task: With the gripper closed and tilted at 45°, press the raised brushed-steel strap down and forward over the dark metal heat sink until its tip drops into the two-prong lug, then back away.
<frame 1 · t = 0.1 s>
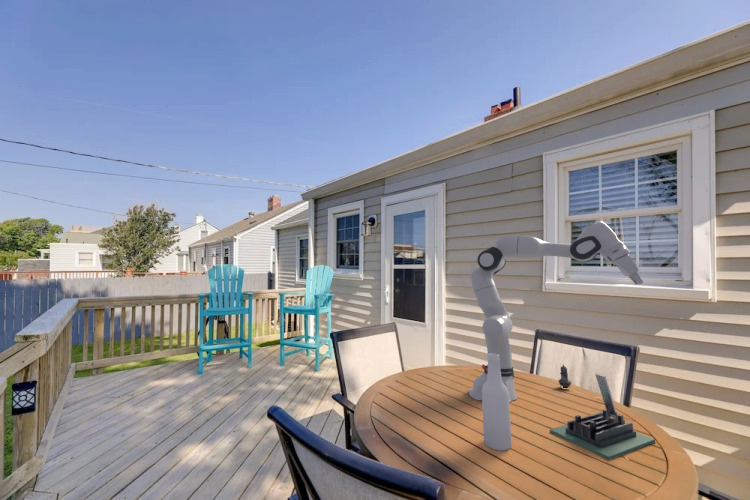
hand: (639, 283, 126), 54 cm above the table, tool tilted 30°, fingers open, 8 cm apart
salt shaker: (565, 388, 161), on the table
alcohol: (497, 445, 106), on the table
circuit board: (600, 437, 110), on the table
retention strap: (606, 396, 114), point 13 cm above the table, hinge at 70.0°
heat sink: (599, 424, 111), on the circuit board, point 4 cm above the table
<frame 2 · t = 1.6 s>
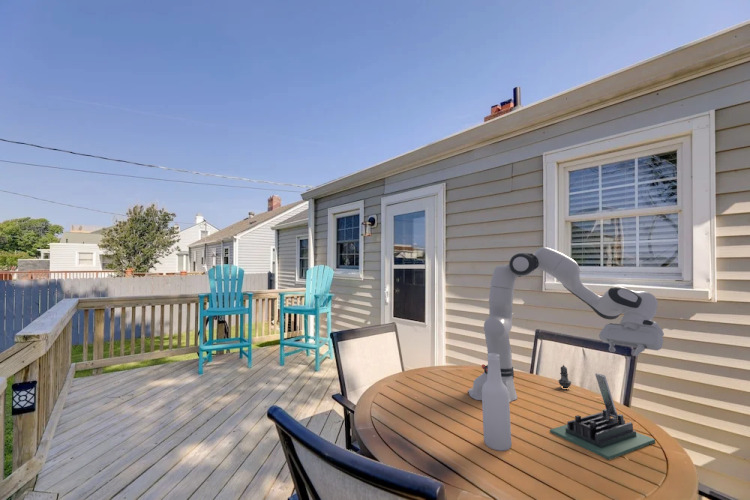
hand: (622, 353, 120), 27 cm above the table, tool tilted 45°, fingers open, 6 cm apart
nothing on the table moved.
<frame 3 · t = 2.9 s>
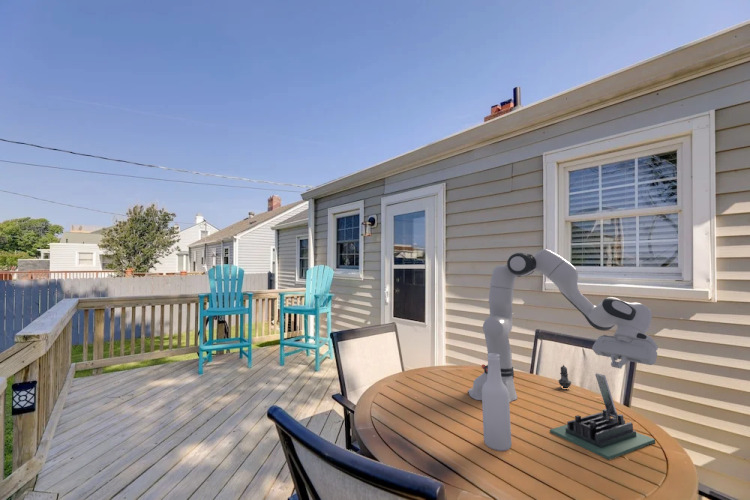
hand: (615, 366, 118), 23 cm above the table, tool tilted 45°, fingers closed
nothing on the table moved.
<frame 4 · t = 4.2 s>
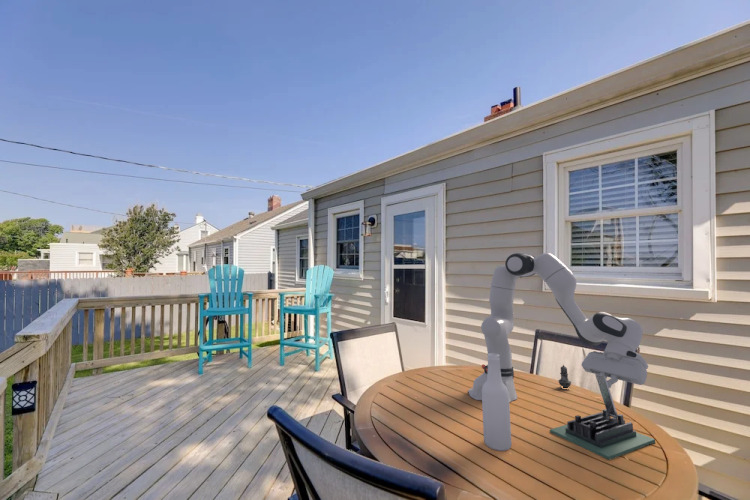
hand: (604, 385, 114), 17 cm above the table, tool tilted 45°, fingers closed, pressing on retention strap
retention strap: (606, 396, 114), point 13 cm above the table, hinge at 69.8°, touching gripper
everything else where it was.
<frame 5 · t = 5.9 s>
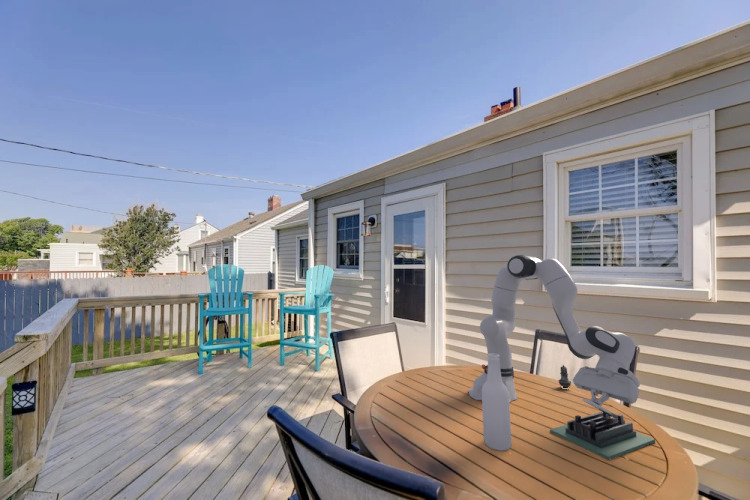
hand: (595, 403, 111), 12 cm above the table, tool tilted 45°, fingers closed, pressing on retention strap
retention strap: (600, 408, 112), point 10 cm above the table, hinge at 27.3°, touching gripper
everything else where it was.
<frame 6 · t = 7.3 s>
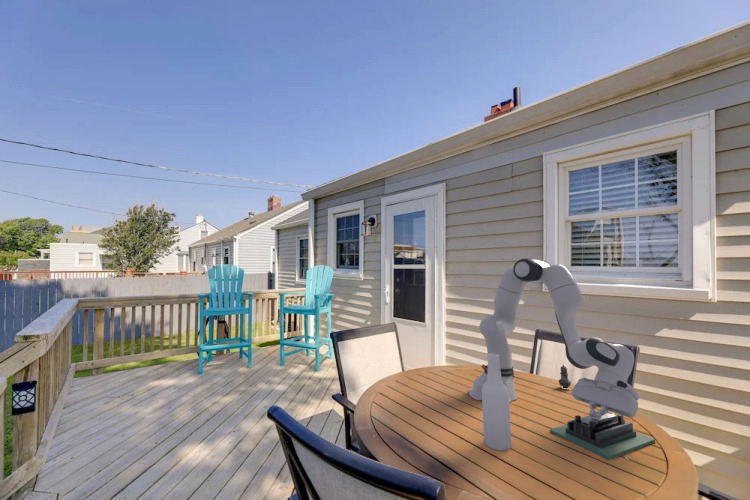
hand: (594, 416, 110), 7 cm above the table, tool tilted 45°, fingers closed, pressing on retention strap
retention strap: (599, 418, 111), point 6 cm above the table, hinge at 2.3°, touching gripper
everything else where it was.
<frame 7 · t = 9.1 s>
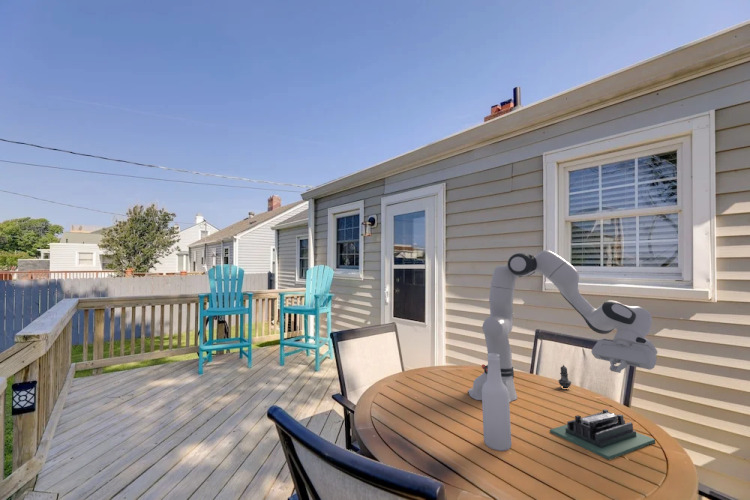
hand: (614, 371, 117), 21 cm above the table, tool tilted 45°, fingers closed
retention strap: (599, 418, 111), point 6 cm above the table, hinge at 2.3°
everything else where it was.
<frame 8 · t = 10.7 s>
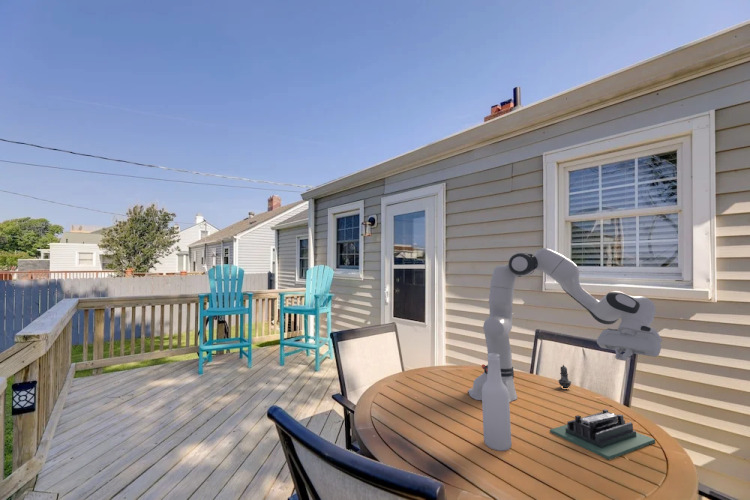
hand: (620, 359, 119), 25 cm above the table, tool tilted 45°, fingers closed
nothing on the table moved.
at the end: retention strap at +2° (first picture: +70°) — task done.
